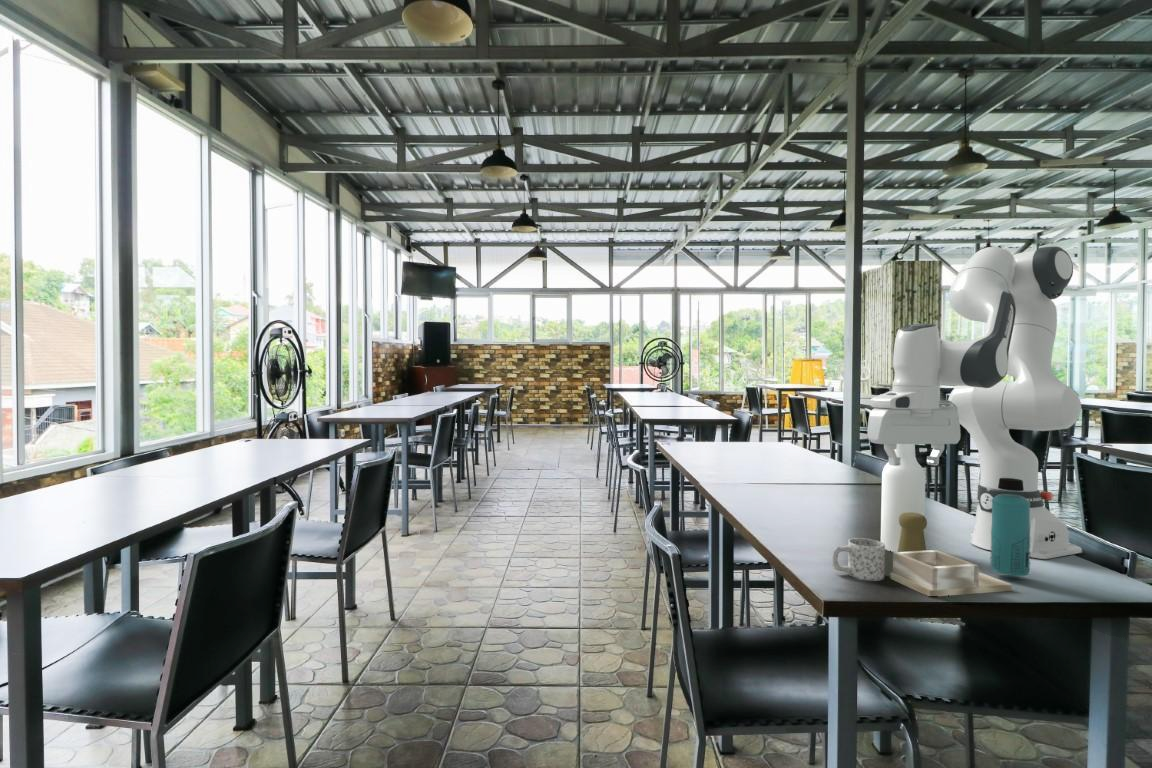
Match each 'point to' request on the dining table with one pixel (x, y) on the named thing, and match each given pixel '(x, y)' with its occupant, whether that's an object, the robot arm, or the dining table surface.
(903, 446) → the alcohol
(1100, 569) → the dining table surface
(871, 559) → the mug
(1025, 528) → the beverage bottle
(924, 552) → the open box
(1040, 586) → the dining table surface
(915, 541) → the cork
